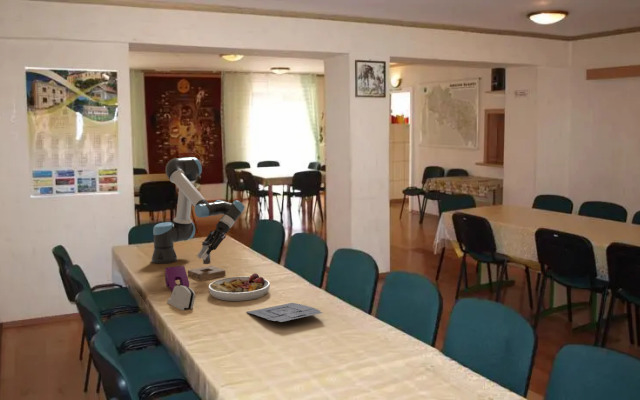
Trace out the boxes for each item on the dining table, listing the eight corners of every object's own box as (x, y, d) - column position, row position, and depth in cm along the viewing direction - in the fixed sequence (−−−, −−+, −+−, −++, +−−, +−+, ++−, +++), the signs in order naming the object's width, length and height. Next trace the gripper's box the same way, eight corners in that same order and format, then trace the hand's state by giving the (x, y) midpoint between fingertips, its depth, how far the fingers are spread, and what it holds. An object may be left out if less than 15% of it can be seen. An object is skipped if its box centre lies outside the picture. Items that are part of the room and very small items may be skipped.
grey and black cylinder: (201, 263, 323) (200, 242, 322) (208, 262, 326) (207, 241, 325) (205, 264, 321) (204, 243, 319) (211, 263, 323) (211, 242, 322)
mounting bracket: (190, 301, 297) (183, 278, 312) (190, 288, 293) (184, 265, 307) (170, 304, 294) (165, 280, 308) (171, 290, 289) (165, 267, 303)
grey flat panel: (277, 329, 235) (276, 320, 235) (245, 318, 260) (245, 309, 260) (327, 318, 248) (327, 309, 248) (293, 308, 273) (292, 300, 273)
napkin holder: (166, 302, 276) (172, 281, 277) (175, 303, 279) (180, 283, 280) (183, 310, 263) (189, 289, 264) (192, 312, 266) (197, 290, 267)
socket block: (188, 275, 325) (187, 270, 325) (211, 270, 335) (211, 265, 335) (201, 280, 314) (201, 275, 314) (225, 275, 324) (225, 270, 324)
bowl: (243, 306, 269) (243, 290, 268) (196, 297, 285) (195, 281, 284) (281, 290, 294) (281, 275, 293) (236, 282, 310) (235, 268, 309)
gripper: (237, 230, 325) (213, 264, 316) (221, 226, 338) (197, 259, 329) (229, 222, 321) (204, 256, 312) (212, 218, 333) (188, 251, 325)
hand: (200, 257), depth 320 cm, fingers closed on grey and black cylinder, 4 cm apart
